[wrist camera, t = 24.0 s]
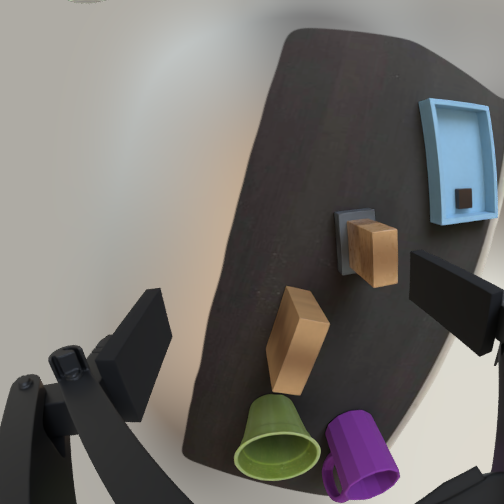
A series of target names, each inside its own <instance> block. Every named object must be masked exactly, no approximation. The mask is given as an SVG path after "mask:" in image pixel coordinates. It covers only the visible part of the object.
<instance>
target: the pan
mask: <svg viewBox="0 0 504 504" xmlns="http://www.w3.org/2000/svg"><path fill="white" fill-rule="evenodd" d="M418 103H419V109H420V114H421V121H422V127H423V134H424V142H425V150H426V159H427V170H428V182H429V199H430V222H432V223H435V224H439V225H449V224H456V223H463V222H470V221H478V220H485V219H492V218H498V196H497V173H496V160H495V149H494V141H493V133H492V126H491V119H490V113H489V107H488V106H483V105H477V104H471V103H465V102H457V101H450V100H441V99H432V98H429V99H426V100H423V101H420V102H418ZM458 188H472V208H467V209H456V203H455V189H458Z"/></svg>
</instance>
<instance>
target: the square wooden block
mask: <svg viewBox="0 0 504 504" xmlns="http://www.w3.org/2000/svg"><path fill="white" fill-rule="evenodd" d="M329 326H330V323H329V321H328V320H327V318H326V316H325V315H324V313H323V311H322V310H321V308H320V306H319V305H318V303H317V301H316V300H315V298H314V296H313V295H312V293H311V291H307V290H303V289H298V288H294V287H290V286H286V288H285V291H284V294H283V297H282V301H281V304H280V307H279V310H278V313H277V316H276V319H275V322H274V325H273V328H272V331H271V334H270V337H269V340H268V343H267V346H266V354H267V360H268V367H269V373H270V379H271V386H272V391H273V392H279V393H286V394H293V395H301V392H302V390H303V388H304V386H305V383H306V381H307V379H308V377H309V374H310V372H311V370H312V367H313V365H314V363H315V360H316V358H317V356H318V353H319V351H320V348H321V346H322V343H323V341H324V338H325V336H326V333H327V331H328V328H329Z"/></svg>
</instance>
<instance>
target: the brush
mask: <svg viewBox="0 0 504 504" xmlns="http://www.w3.org/2000/svg"><path fill="white" fill-rule="evenodd" d="M334 219H335V231H336V245H337V261H338V271H339V272H340V273H341V274H342V275H348V274H354V273H357V274H358V275H360V276H361V277H362V278H363V279H364V280H365V281H366V282H368V283H369V284H370V285H371V286H372V287H373V288H376V287H381V286H386V285H391V284H396V283H398V239H397V229H395V228H393V227H390V226H387V225H385V224H382V223H379V222H376V221H375V210H374V209H370V208H365V209H356V210H347V211H338V212H334Z"/></svg>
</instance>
